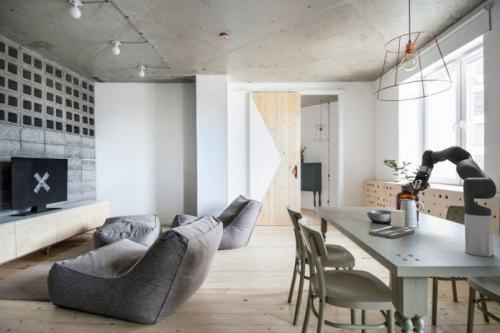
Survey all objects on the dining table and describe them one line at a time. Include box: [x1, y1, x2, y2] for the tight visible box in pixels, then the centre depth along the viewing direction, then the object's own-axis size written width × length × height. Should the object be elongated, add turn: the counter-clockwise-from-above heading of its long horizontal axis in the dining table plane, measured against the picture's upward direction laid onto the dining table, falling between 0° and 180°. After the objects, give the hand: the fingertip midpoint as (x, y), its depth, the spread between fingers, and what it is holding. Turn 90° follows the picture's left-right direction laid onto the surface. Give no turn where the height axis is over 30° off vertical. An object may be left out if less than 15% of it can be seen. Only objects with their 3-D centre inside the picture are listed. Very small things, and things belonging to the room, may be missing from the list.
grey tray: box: [368, 225, 416, 239], centre depth 165 cm, size 14×24×2 cm, turn 125°
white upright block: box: [390, 209, 406, 229], centre depth 169 cm, size 6×5×11 cm
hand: (414, 194), depth 178 cm, fingers closed
